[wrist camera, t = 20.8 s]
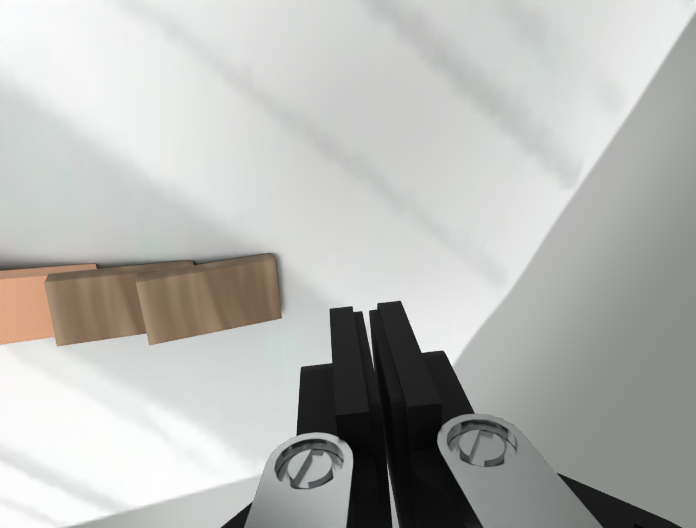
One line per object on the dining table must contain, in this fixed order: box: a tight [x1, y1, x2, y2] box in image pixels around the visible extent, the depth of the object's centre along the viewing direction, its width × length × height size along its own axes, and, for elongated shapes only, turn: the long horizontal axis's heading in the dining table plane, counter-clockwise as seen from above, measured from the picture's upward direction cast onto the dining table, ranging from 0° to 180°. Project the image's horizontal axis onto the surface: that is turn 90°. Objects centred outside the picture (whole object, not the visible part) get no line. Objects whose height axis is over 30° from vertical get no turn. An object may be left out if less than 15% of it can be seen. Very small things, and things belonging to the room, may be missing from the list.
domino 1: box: [0, 263, 97, 345], centre depth 35 cm, size 2×5×10 cm
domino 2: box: [44, 260, 194, 346], centre depth 37 cm, size 2×5×10 cm
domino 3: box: [136, 253, 282, 345], centre depth 37 cm, size 2×5×10 cm
